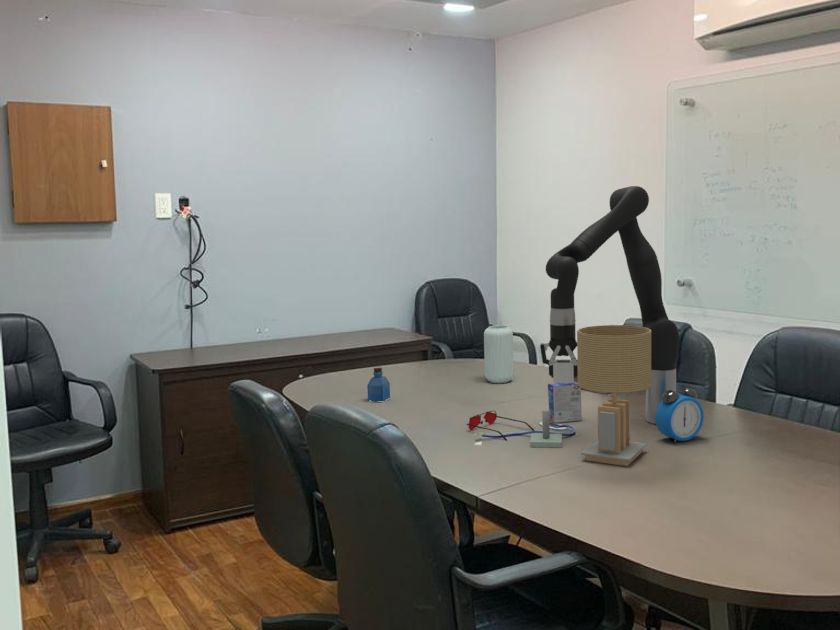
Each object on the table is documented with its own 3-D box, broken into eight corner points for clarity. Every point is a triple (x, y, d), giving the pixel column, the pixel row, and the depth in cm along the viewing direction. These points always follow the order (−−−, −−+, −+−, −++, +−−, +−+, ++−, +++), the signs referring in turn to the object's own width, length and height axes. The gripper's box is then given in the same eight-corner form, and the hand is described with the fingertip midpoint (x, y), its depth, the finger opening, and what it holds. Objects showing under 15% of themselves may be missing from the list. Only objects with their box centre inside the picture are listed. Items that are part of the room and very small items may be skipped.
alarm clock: (668, 445, 229) (668, 394, 227) (654, 439, 235) (654, 389, 233) (704, 438, 234) (704, 388, 232) (689, 433, 240) (690, 384, 238)
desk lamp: (638, 471, 207) (639, 337, 203) (567, 461, 218) (566, 333, 213) (659, 451, 224) (660, 327, 219) (592, 442, 234) (591, 323, 229)
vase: (494, 377, 329) (493, 324, 326) (518, 380, 322) (517, 325, 319) (479, 382, 320) (478, 327, 317) (504, 385, 313) (503, 329, 310)
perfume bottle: (368, 401, 295) (366, 369, 293) (375, 397, 300) (373, 366, 299) (383, 402, 292) (381, 370, 291) (390, 398, 298) (388, 367, 297)
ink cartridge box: (575, 416, 264) (575, 373, 262) (582, 420, 258) (582, 376, 256) (547, 419, 261) (547, 375, 260) (554, 423, 256) (553, 379, 254)
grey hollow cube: (573, 378, 245) (573, 359, 244) (573, 382, 239) (573, 363, 238) (553, 378, 246) (553, 359, 245) (553, 382, 240) (553, 363, 239)
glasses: (494, 423, 261) (494, 408, 260) (535, 431, 249) (535, 416, 248) (465, 432, 251) (465, 416, 250) (506, 441, 239) (506, 425, 239)
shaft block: (561, 438, 239) (561, 407, 238) (561, 447, 230) (561, 415, 229) (531, 438, 241) (531, 407, 239) (530, 447, 232) (529, 415, 231)
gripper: (586, 320, 243) (587, 374, 245) (538, 321, 245) (539, 374, 247) (587, 324, 235) (587, 380, 238) (538, 324, 238) (539, 379, 240)
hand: (563, 377), depth 242 cm, fingers closed on grey hollow cube, 6 cm apart
